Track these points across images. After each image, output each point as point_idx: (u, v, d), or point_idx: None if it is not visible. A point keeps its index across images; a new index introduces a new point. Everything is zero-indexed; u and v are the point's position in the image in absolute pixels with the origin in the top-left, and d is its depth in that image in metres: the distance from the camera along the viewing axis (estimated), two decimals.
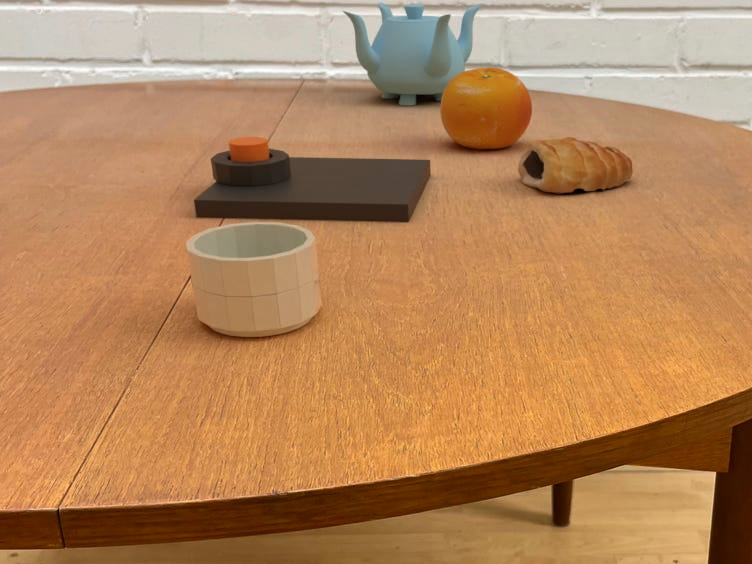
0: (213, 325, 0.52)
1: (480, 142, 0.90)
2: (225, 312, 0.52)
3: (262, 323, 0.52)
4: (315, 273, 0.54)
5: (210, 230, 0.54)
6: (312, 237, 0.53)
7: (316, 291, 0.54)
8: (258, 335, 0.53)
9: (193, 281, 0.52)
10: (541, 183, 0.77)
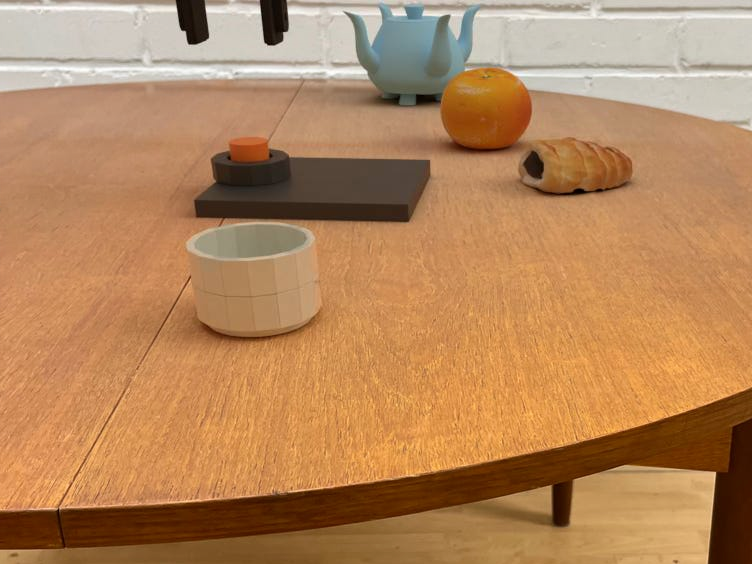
0: (213, 325, 0.52)
1: (480, 142, 0.90)
2: (225, 312, 0.52)
3: (262, 323, 0.52)
4: (315, 273, 0.54)
5: (210, 230, 0.54)
6: (312, 237, 0.53)
7: (316, 291, 0.54)
8: (258, 335, 0.53)
9: (193, 281, 0.52)
10: (541, 183, 0.77)
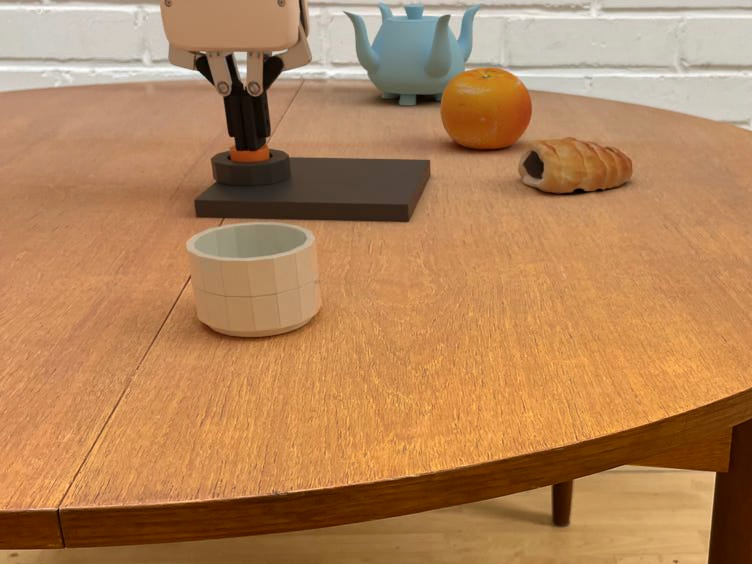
0: (213, 325, 0.52)
1: (480, 142, 0.90)
2: (225, 312, 0.52)
3: (262, 323, 0.52)
4: (315, 273, 0.54)
5: (210, 230, 0.54)
6: (312, 237, 0.53)
7: (316, 291, 0.54)
8: (258, 335, 0.53)
9: (193, 281, 0.52)
10: (541, 183, 0.77)
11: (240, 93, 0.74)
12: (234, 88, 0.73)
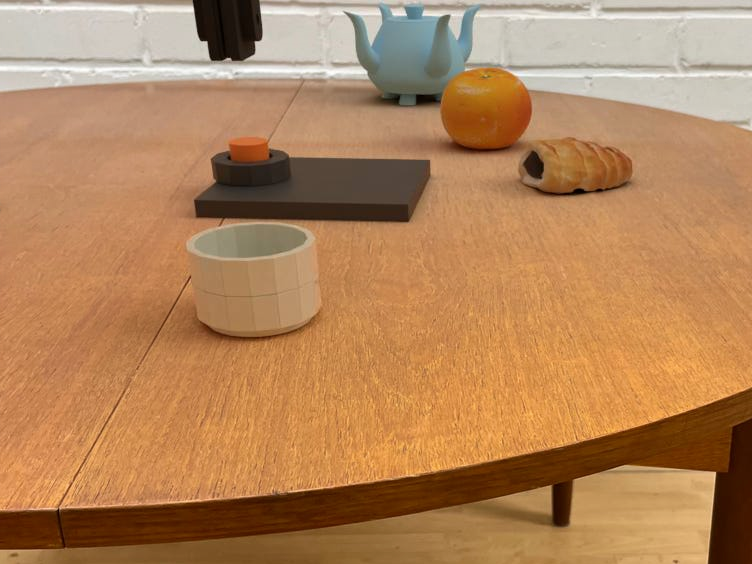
0: (213, 325, 0.52)
1: (480, 142, 0.90)
2: (225, 312, 0.52)
3: (262, 323, 0.52)
4: (315, 273, 0.54)
5: (210, 230, 0.54)
6: (312, 237, 0.53)
7: (316, 291, 0.54)
8: (258, 335, 0.53)
9: (193, 281, 0.52)
10: (541, 183, 0.77)
11: None
12: None
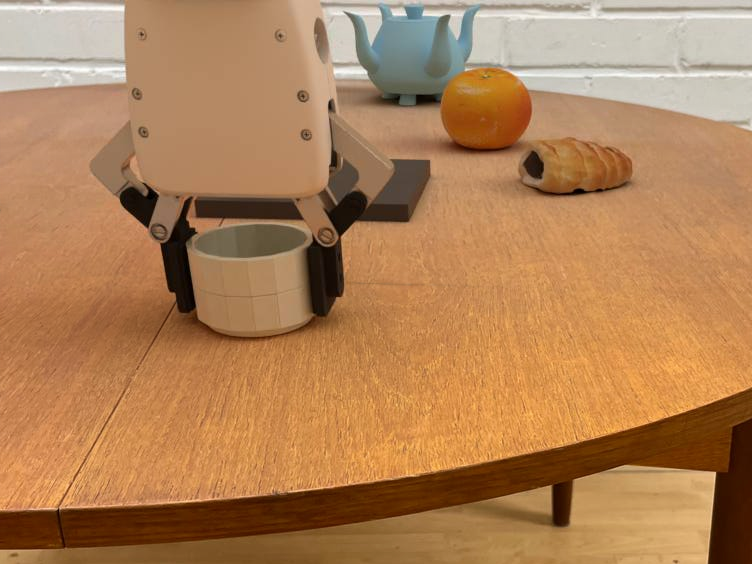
0: (213, 325, 0.52)
1: (480, 142, 0.90)
2: (225, 312, 0.52)
3: (262, 323, 0.52)
4: None
5: (210, 230, 0.54)
6: None
7: None
8: (258, 335, 0.53)
9: (193, 281, 0.52)
10: (541, 183, 0.77)
11: (184, 237, 0.53)
12: (175, 231, 0.52)
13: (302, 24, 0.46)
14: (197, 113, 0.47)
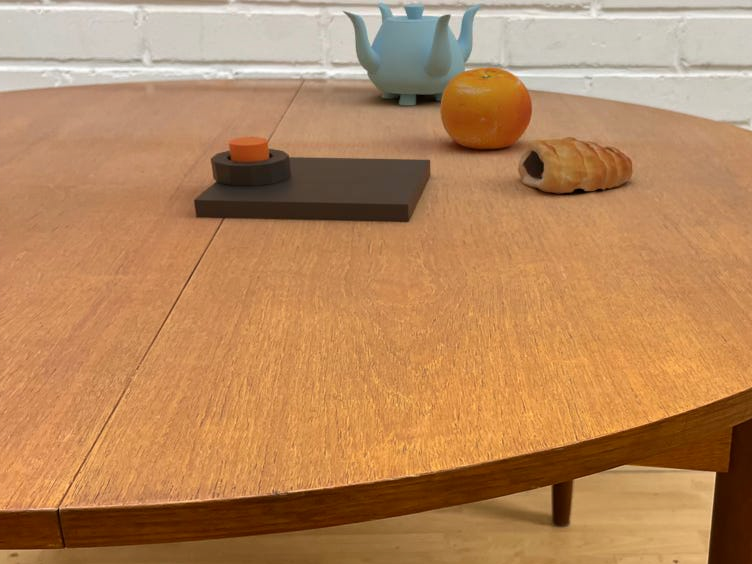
0: None
1: (480, 142, 0.90)
2: None
3: None
4: None
5: None
6: None
7: None
8: None
9: None
10: (541, 183, 0.77)
11: None
12: None
13: None
14: None
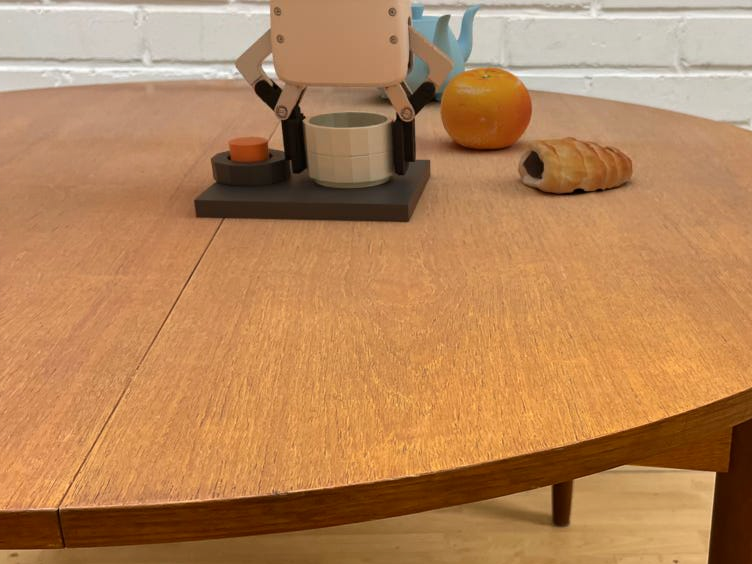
0: (322, 179, 0.74)
1: (480, 142, 0.90)
2: (332, 168, 0.73)
3: (358, 176, 0.73)
4: None
5: (317, 115, 0.76)
6: (391, 118, 0.75)
7: (393, 158, 0.75)
8: (353, 187, 0.74)
9: (308, 147, 0.74)
10: (541, 183, 0.77)
11: (298, 117, 0.74)
12: (292, 112, 0.74)
13: None
14: (319, 24, 0.69)
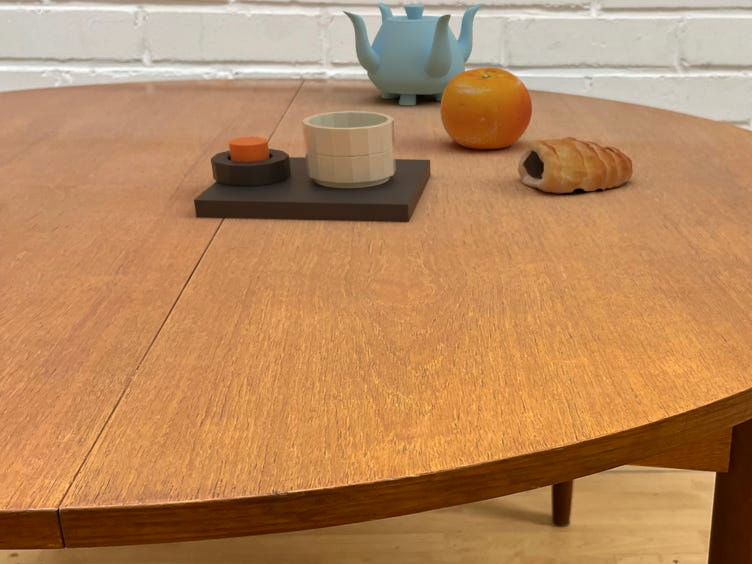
0: (322, 179, 0.74)
1: (480, 142, 0.90)
2: (332, 168, 0.73)
3: (358, 176, 0.73)
4: (393, 144, 0.75)
5: (317, 115, 0.76)
6: (391, 118, 0.75)
7: (393, 158, 0.75)
8: (353, 187, 0.74)
9: (308, 147, 0.74)
10: (541, 183, 0.77)
11: None
12: None
13: None
14: None
